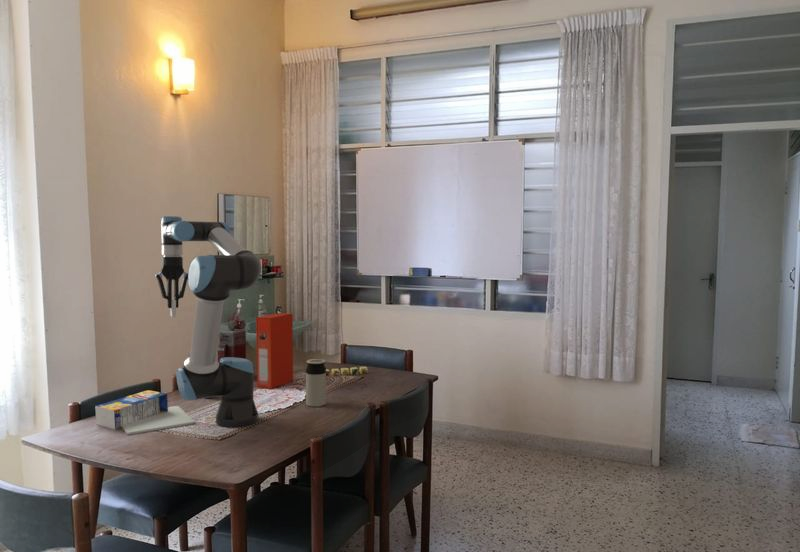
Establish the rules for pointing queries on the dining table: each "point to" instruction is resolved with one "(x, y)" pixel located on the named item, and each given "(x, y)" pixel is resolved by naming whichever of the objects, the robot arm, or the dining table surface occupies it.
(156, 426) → the board
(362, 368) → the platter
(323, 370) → the travel mug
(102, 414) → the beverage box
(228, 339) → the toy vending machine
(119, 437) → the dining table surface
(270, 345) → the file binder
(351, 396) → the dining table surface
